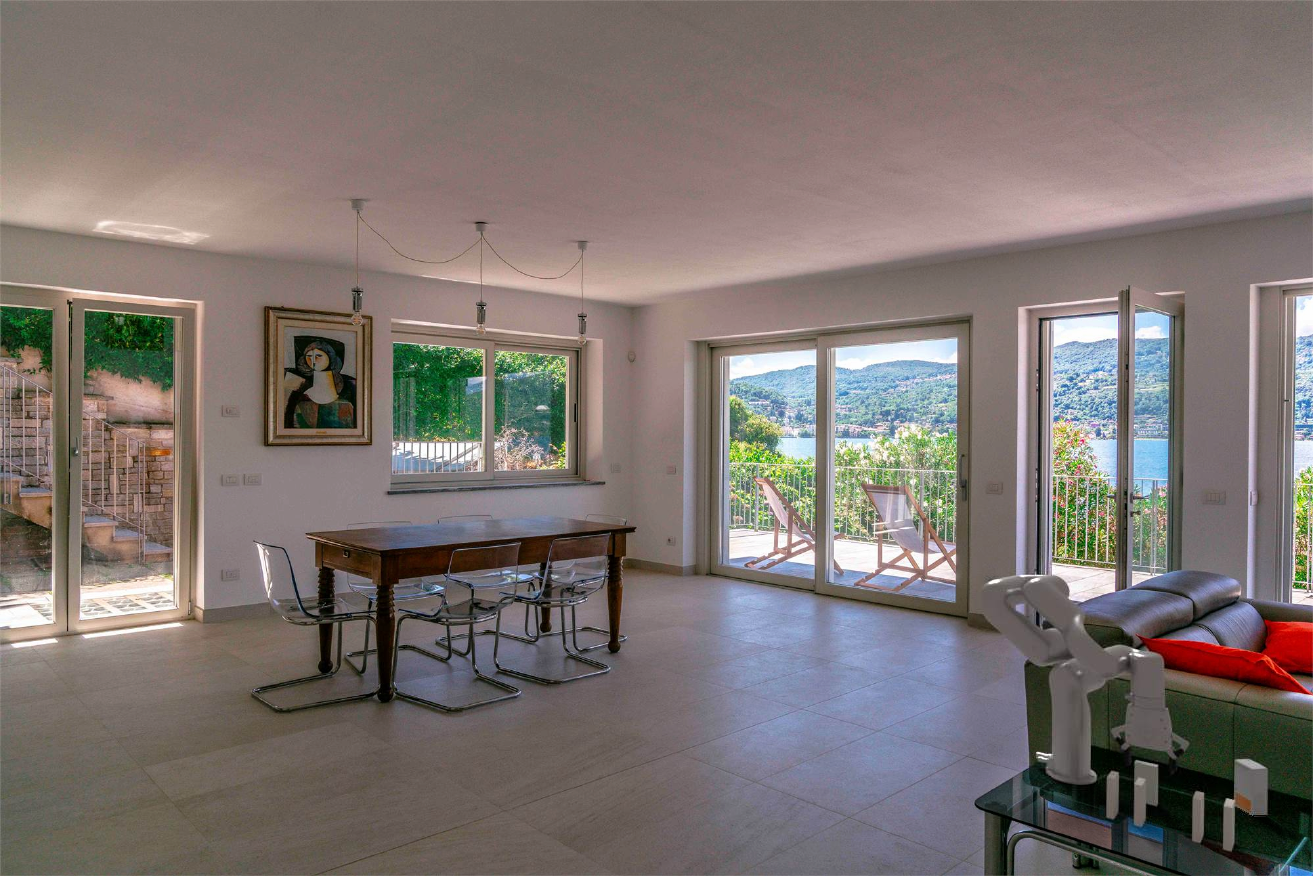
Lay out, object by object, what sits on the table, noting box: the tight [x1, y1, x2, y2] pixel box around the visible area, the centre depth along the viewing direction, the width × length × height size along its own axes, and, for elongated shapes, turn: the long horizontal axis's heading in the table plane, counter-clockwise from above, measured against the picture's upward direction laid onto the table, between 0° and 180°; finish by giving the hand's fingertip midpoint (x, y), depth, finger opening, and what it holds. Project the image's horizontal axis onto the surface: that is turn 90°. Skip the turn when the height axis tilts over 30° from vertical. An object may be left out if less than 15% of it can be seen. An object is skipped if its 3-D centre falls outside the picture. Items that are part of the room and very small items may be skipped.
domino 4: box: [1191, 790, 1205, 844], centre depth 197 cm, size 2×5×10 cm, turn 140°
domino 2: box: [1133, 777, 1147, 828], centre depth 205 cm, size 2×5×10 cm, turn 140°
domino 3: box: [1133, 759, 1159, 807], centre depth 216 cm, size 2×5×10 cm, turn 50°
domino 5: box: [1222, 798, 1236, 853], centre depth 194 cm, size 2×5×10 cm, turn 140°
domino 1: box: [1105, 770, 1120, 820], centre depth 209 cm, size 2×5×10 cm, turn 140°
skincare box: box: [1233, 758, 1269, 817], centre depth 211 cm, size 6×4×12 cm
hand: (1149, 768), depth 215 cm, fingers open, 9 cm apart
